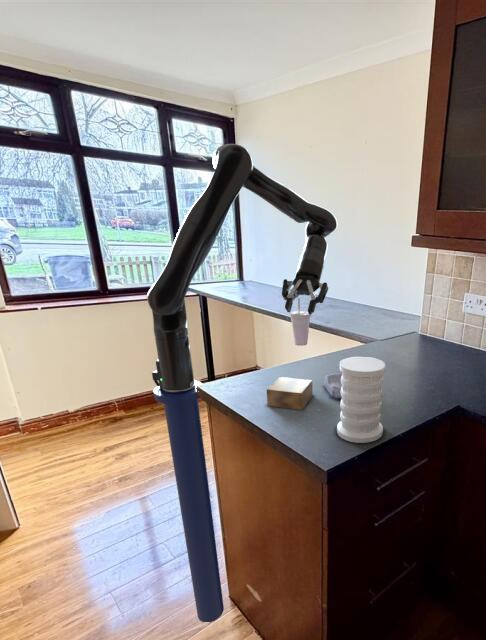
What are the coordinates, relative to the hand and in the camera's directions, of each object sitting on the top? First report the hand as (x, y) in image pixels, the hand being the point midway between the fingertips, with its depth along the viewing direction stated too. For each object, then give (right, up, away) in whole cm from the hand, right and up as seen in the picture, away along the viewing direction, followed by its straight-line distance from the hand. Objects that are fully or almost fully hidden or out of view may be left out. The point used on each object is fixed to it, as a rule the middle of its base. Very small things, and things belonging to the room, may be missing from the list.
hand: (298, 311), depth 119 cm
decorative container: (+18, -33, -17) cm, 42 cm away
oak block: (-2, -26, -2) cm, 26 cm away
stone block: (+13, -24, +6) cm, 28 cm away
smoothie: (0, -9, +6) cm, 11 cm away
